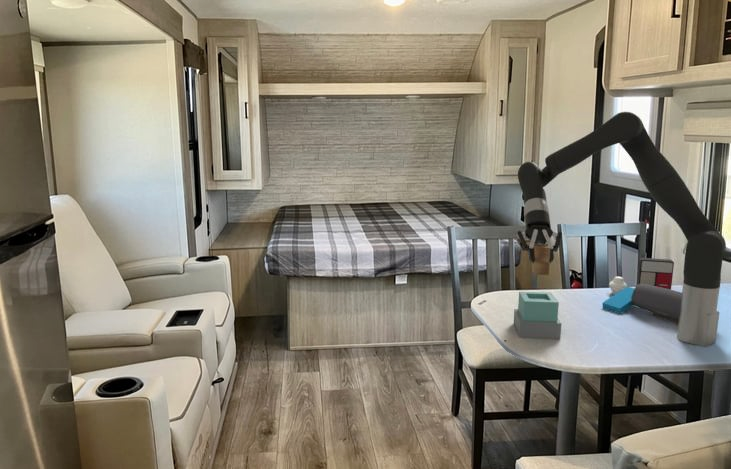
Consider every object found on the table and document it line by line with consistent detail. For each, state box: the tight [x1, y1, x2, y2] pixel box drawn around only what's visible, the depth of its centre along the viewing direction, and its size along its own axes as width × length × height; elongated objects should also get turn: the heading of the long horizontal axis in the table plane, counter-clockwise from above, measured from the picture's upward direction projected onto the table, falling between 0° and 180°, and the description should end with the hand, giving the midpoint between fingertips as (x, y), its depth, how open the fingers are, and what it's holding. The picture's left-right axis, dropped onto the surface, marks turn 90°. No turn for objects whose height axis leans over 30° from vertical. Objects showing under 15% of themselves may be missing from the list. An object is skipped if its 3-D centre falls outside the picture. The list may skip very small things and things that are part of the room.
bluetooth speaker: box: [631, 284, 682, 324], centre depth 181 cm, size 23×9×10 cm, turn 30°
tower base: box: [513, 291, 562, 340], centre depth 170 cm, size 12×12×11 cm
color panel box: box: [636, 257, 675, 290], centre depth 202 cm, size 11×4×15 cm, turn 73°
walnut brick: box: [530, 243, 550, 276], centre depth 166 cm, size 4×4×8 cm
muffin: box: [609, 276, 628, 295], centre depth 209 cm, size 6×6×7 cm
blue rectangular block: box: [601, 286, 635, 314], centre depth 194 cm, size 7×7×18 cm
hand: (541, 261), depth 165 cm, fingers closed on walnut brick, 4 cm apart
